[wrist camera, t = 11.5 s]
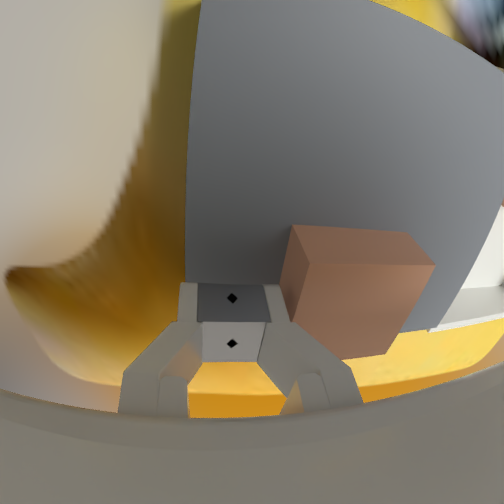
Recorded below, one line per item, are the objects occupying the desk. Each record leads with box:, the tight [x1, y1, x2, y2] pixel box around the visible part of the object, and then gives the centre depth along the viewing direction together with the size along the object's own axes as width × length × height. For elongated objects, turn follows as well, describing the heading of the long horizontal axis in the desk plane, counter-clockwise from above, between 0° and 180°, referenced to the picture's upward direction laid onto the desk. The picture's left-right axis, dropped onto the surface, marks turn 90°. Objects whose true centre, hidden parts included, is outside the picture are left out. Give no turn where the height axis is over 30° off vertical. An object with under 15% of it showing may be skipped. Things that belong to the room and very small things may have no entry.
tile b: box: [279, 224, 436, 360], centre depth 10 cm, size 4×4×2 cm
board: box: [185, 0, 504, 333], centre depth 11 cm, size 13×13×4 cm
